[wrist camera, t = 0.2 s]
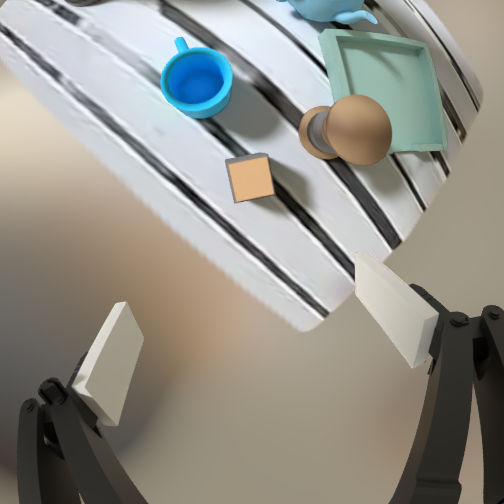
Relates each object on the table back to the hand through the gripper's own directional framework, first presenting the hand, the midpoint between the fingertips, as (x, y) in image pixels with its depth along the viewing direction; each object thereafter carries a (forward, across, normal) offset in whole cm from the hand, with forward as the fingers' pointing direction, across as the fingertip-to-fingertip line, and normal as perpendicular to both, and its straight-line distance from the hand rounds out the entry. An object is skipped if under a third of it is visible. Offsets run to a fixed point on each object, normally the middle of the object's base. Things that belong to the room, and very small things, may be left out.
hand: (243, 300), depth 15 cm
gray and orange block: (+26, +3, +4) cm, 27 cm away
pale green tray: (+26, +28, +14) cm, 41 cm away
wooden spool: (+26, +15, +8) cm, 31 cm away
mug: (+26, -1, +19) cm, 32 cm away
